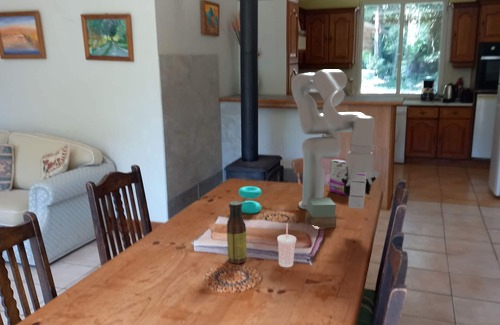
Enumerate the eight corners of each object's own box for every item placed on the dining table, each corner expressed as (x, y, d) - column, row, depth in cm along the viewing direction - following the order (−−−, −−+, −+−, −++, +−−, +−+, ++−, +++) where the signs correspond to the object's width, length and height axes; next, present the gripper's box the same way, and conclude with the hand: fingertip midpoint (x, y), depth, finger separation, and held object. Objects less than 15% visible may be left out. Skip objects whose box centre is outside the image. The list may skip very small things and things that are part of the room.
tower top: (307, 209, 180) (307, 198, 179) (328, 209, 181) (329, 197, 180) (312, 217, 171) (313, 205, 170) (335, 216, 172) (335, 204, 171)
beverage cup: (283, 269, 138) (285, 228, 135) (272, 262, 143) (273, 222, 140) (299, 265, 141) (300, 224, 138) (287, 258, 146) (289, 218, 143)
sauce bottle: (249, 258, 146) (250, 201, 142) (242, 266, 141) (243, 207, 136) (231, 255, 148) (231, 198, 144) (224, 262, 143) (223, 204, 138)
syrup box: (363, 209, 165) (367, 172, 161) (347, 208, 166) (351, 171, 162) (363, 204, 170) (366, 168, 167) (347, 202, 172) (351, 167, 168)
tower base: (305, 222, 180) (305, 210, 179) (323, 219, 183) (324, 208, 182) (316, 230, 172) (317, 218, 171) (336, 227, 175) (336, 215, 174)
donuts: (237, 191, 186) (239, 185, 196) (237, 213, 188) (239, 206, 198) (260, 192, 185) (262, 185, 195) (260, 214, 187) (261, 207, 197)
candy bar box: (353, 194, 218) (355, 162, 214) (347, 196, 214) (349, 163, 210) (334, 189, 226) (336, 158, 222) (328, 191, 222) (330, 159, 218)
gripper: (377, 146, 168) (372, 189, 173) (335, 147, 164) (331, 192, 168) (387, 150, 161) (382, 196, 166) (343, 152, 157) (339, 198, 161)
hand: (356, 193), depth 167 cm, fingers closed on syrup box, 7 cm apart
